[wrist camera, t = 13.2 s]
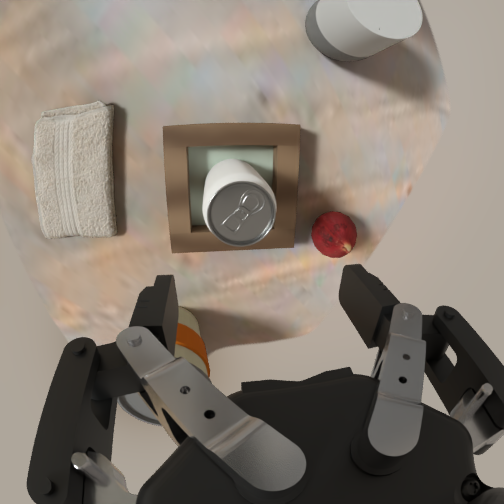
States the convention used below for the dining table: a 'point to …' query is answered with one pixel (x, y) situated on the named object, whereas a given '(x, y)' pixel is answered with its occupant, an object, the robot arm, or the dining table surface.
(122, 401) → the reusable coffee cup
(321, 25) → the smart speaker
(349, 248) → the onion
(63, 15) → the dining table surface
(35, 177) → the washcloth
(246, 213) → the can
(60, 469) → the robot arm
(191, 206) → the holder
